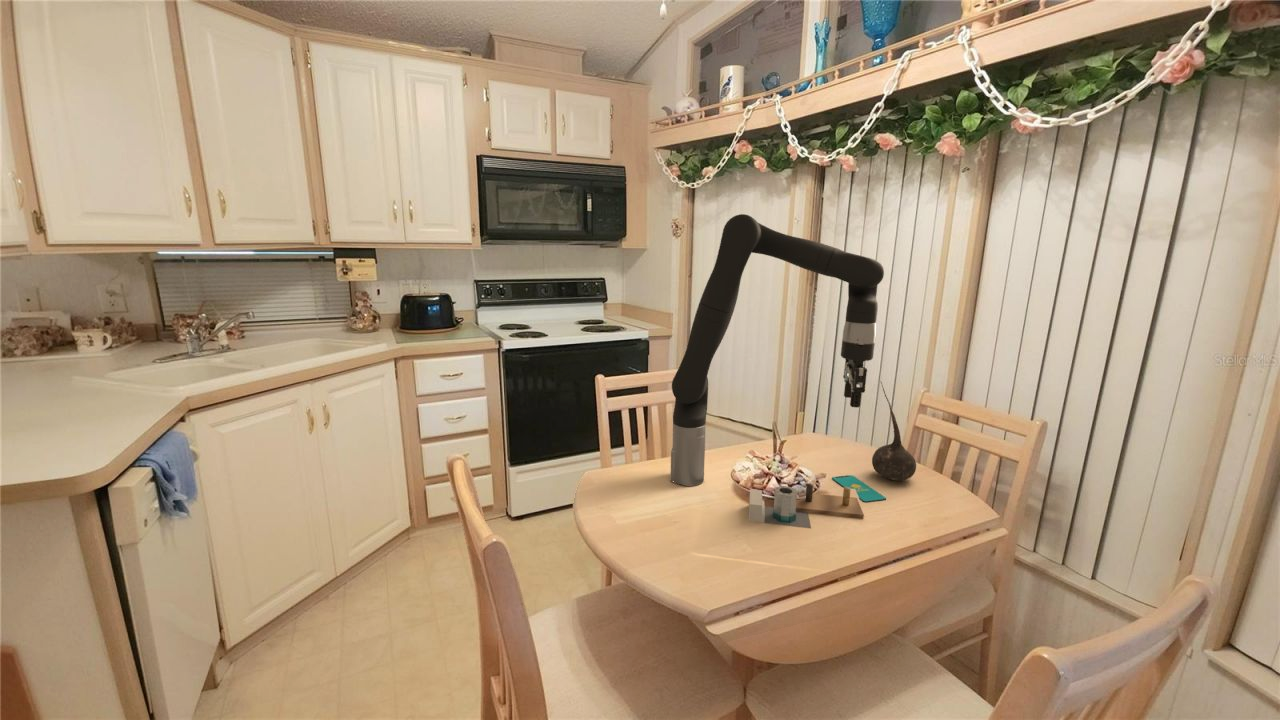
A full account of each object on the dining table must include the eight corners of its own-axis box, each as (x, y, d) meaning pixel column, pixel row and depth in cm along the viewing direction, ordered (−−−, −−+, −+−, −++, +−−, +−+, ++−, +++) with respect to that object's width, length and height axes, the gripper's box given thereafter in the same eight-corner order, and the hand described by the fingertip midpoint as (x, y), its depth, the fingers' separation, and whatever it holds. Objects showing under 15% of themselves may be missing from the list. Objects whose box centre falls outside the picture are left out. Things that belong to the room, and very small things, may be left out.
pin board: (795, 513, 128) (797, 491, 127) (793, 496, 137) (794, 475, 135) (863, 520, 125) (865, 498, 123) (856, 503, 133) (858, 481, 132)
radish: (855, 472, 152) (865, 375, 145) (894, 468, 155) (906, 372, 148) (881, 489, 141) (893, 385, 134) (923, 484, 144) (936, 382, 138)
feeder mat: (748, 522, 123) (749, 504, 122) (749, 507, 131) (750, 489, 130) (811, 530, 120) (812, 510, 119) (807, 513, 128) (809, 495, 127)
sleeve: (773, 521, 123) (774, 494, 122) (772, 510, 128) (774, 484, 127) (796, 523, 122) (798, 497, 121) (794, 512, 127) (796, 486, 126)
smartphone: (864, 501, 133) (830, 476, 148) (863, 504, 133) (830, 479, 148) (888, 498, 135) (852, 474, 149) (887, 501, 135) (852, 477, 149)
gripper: (837, 334, 134) (831, 393, 138) (847, 344, 120) (840, 409, 124) (868, 335, 133) (861, 395, 136) (881, 345, 119) (873, 411, 122)
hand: (851, 401), depth 130 cm, fingers open, 8 cm apart
